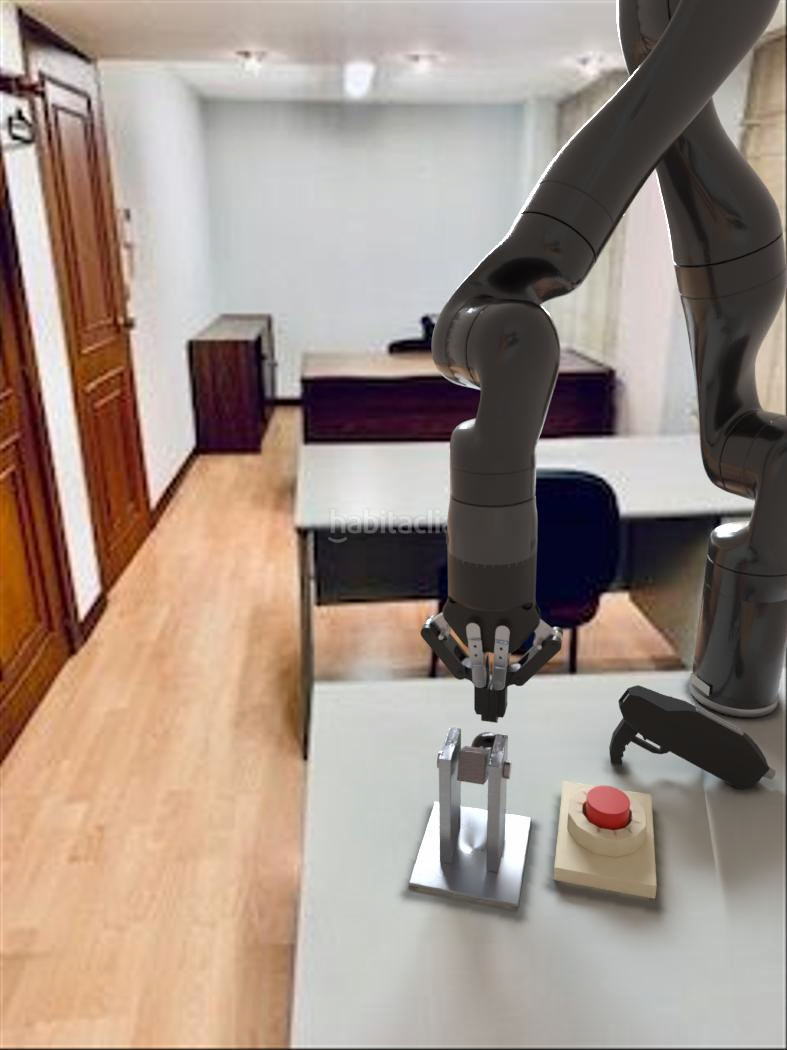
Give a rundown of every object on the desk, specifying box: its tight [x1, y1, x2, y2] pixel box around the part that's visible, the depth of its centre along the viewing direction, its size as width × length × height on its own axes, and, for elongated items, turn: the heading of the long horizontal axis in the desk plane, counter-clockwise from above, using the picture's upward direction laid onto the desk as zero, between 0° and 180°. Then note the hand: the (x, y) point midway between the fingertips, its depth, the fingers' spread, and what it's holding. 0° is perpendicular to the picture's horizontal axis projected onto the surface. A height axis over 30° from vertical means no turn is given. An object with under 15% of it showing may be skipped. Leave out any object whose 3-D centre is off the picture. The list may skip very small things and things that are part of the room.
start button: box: [586, 785, 630, 830], centre depth 65 cm, size 4×4×2 cm
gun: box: [608, 684, 777, 791], centre depth 75 cm, size 3×16×10 cm, turn 78°
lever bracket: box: [408, 726, 532, 908], centre depth 64 cm, size 10×9×12 cm
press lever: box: [457, 731, 497, 786], centre depth 67 cm, size 12×3×3 cm, turn 164°
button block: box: [553, 780, 658, 900], centre depth 66 cm, size 11×8×4 cm
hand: (490, 716), depth 70 cm, fingers closed
